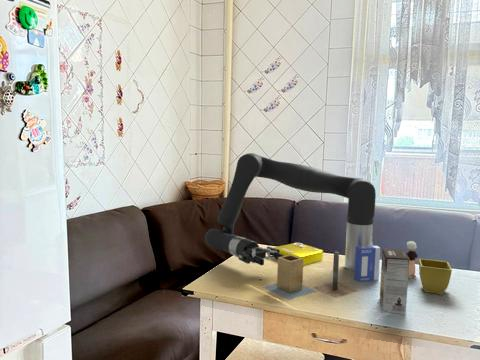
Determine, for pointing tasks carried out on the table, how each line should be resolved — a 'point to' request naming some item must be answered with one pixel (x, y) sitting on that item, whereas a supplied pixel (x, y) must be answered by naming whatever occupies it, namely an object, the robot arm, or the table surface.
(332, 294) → the walnut stand
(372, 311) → the table surface
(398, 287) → the coffee box
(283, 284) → the bronze sleeve
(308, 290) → the blue peg stand
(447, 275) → the flower pot
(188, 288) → the table surface
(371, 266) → the walkman
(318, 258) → the element tile
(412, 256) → the grandmother figurine
